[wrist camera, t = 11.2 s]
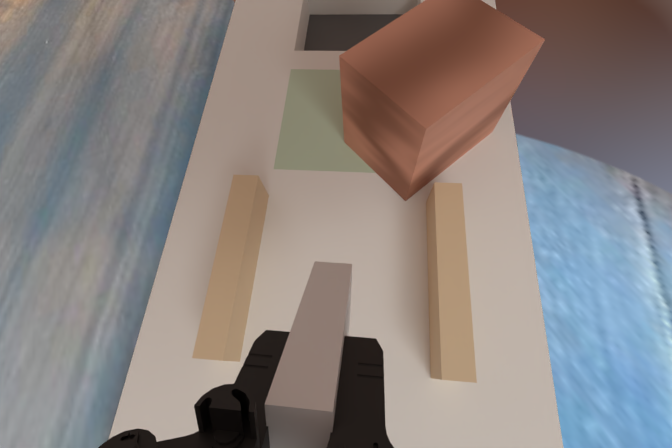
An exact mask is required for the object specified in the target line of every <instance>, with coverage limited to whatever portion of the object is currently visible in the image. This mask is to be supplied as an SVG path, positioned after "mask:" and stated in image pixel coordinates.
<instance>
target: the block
mask: <svg viewBox="0 0 672 448" xmlns="http://www.w3.org/2000/svg"><path fill="white" fill-rule="evenodd" d="M544 41H545V39H543V38H542V37H540V36H538V35H537V34H535V33H533V32H532V31H530V30H529V29H527V28H526V27H524V26H522V25H521V24H519V23H517V22H516V21H514V20H512V19H511V18H509V17H508V16H506V15H504V14H503V13H501V12H500V11H498V10H496V9H495V8H493V7H491V6H490V5H488V4H487V3H485V2H483V1H482V0H425V1H423V2H422V3H420V4H419V5H417V6H416V7H414V8H413V9H411V10H409V11H408V12H406V13H405V14H403V15H402V16H400V17H399V18H397V19H395V20H394V21H392V22H391V23H389V24H388V25H386V26H385V27H383V28H381V29H380V30H378V31H377V32H375V33H374V34H372V35H371V36H369V37H367V38H366V39H364V40H363V41H361V42H360V43H358V44H357V45H355V46H353V47H352V48H350V49H349V50H347V51H346V52H344V53H343V54H341V55H339V62H340V79H341V96H342V112H343V129H344V142H345V143H346V144H347V145H348V146H349V147H350V148H351V149H352V150H353V151H354V152H355V153H356V154H357V155H358V156H359V157H360V158H361V159H362V160H363V161H364V162H365V163H366V164H367V165H368V166H369V167H370V168H372V169H373V170H374V171H375V172H376V173H377V174H378V175H379V176H380V177H381V178H382V179H383V180H384V181H385V182H386V183H387V184H388V185H389V186H390V187H391V188H392V189H393V190H394V191H395V192H396V193H397V194H398V195H399V196H400V197H401V198H402V199H403V200H405V201H407V200H408V199H409V198H410V197H412V196H413V195H414V194H415V193H417V192H418V191H419V190H420V189H422V188H423V187H424V186H425V185H427V184H428V183H429V182H430V181H432V180H433V179H434V178H435V177H437V176H438V175H439V174H440V173H442V172H443V171H444V170H445V169H447V168H448V167H449V166H450V165H452V164H453V163H454V162H455V161H457V160H458V159H459V158H460V157H462V156H463V155H464V154H465V153H467V152H468V151H469V150H470V149H472V148H473V147H474V146H475V145H477V144H478V143H479V142H480V141H482V140H483V139H484V138H485V137H487V136H488V135H489V134H490V133H492V132H493V130H494V128H495V127H496V125H497V123H498V121H499V120H500V118H501V116H502V114H503V112H504V111H505V109H506V107H507V105H508V104H509V102H510V100H511V98H512V97H513V95H514V93H515V91H516V90H517V88H518V86H519V84H520V83H521V81H522V79H523V77H524V76H525V74H526V72H527V70H528V69H529V67H530V65H531V63H532V61H533V60H534V58H535V56H536V55H537V53H538V51H539V49H540V48H541V46H542V44H543V42H544Z"/></svg>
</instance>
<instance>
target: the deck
mask: <svg viewBox="0 0 672 448" xmlns="http://www.w3.org/2000/svg"><path fill="white" fill-rule="evenodd" d="M423 1H425V0H236V1H235V5H234V8H233V11H232V15H231V18H230V22H229V25H228V29H227V32H226V36H225V39H224V43H223V46H222V49H221V53H220V56H219V60H218V63H217V67H216V70H215V74H214V77H213V81H212V84H211V87H210V91H209V94H208V98H207V101H206V105H205V108H204V112H203V115H202V119H201V122H200V125H199V129H198V132H197V136H196V139H195V143H194V146H193V150H192V153H191V157H190V160H189V163H188V167H187V170H186V174H185V177H184V181H183V184H182V188H181V191H180V195H179V198H178V201H177V205H176V208H175V212H174V215H173V219H172V222H171V226H170V229H169V233H168V236H167V239H166V243H165V246H164V250H163V253H162V257H161V260H160V264H159V267H158V271H157V274H156V277H155V281H154V284H153V288H152V291H151V295H150V298H149V302H148V305H147V309H146V312H145V315H144V319H143V322H142V326H141V329H140V333H139V336H138V340H137V343H136V347H135V350H134V353H133V357H132V360H131V364H130V367H129V371H128V374H127V378H126V381H125V385H124V388H123V391H122V395H121V398H120V402H119V405H118V409H117V412H116V416H115V419H114V423H113V426H112V429H111V433H110V436H109V439H110V438H111V437H113V436H115V435H117V434H120V433H122V432H124V431H127V430H132V429H137V428H138V429H144V430H149V431H150V432H151V433H152V434H153V435H155V437H156V441H157V442H158V441H163V440H168V439H173V438H178V437H183V436H187V435H190V434H193V433H195V432H197V431H199V429H198V424H197V419H196V414H195V409H194V405H195V404H196V402H197V401H198V400H199V399H200V397H201V396H202V395H204V394H205V393H207V392H208V391H210V390H211V389H213V388H215V387H218V386H221V385H224V384H234V383H235V381H236V378H237V376H238V374H239V372H240V370H241V368H242V367H243V364H244V362H245V360H246V357H247V356H248V354H249V351H250V349H251V347H252V345H253V343H254V341H255V340H256V339H257V338H258V337H259V336H260V335H261V334H262V333H263V332H264V331H266V330H274V331H285V332H290V330H291V327H292V325H293V322H294V319H295V316H296V313H297V310H298V307H299V305H300V302H301V299H302V296H303V293H304V290H305V287H306V285H307V282H308V279H309V276H310V273H311V270H312V267H313V265H314V262H315V261H317V262H332V263H346V264H352V286H351V310H350V326H349V335H348V336H353V337H364V338H376V339H377V341H378V343H379V344H380V346H381V348H382V350H383V357H384V393H385V426H386V432H387V436H388V438H389V440H390V443H391V444H392V445H393V447H394V448H563V443H562V436H561V430H560V423H559V416H558V410H557V403H556V397H555V390H554V384H553V377H552V371H551V364H550V358H549V351H548V344H547V338H546V331H545V325H544V318H543V312H542V305H541V299H540V292H539V286H538V279H537V272H536V266H535V259H534V253H533V246H532V240H531V233H530V227H529V220H528V214H527V207H526V200H525V194H524V187H523V181H522V174H521V168H520V161H519V155H518V148H517V142H516V135H515V129H514V122H513V116H512V109H511V103H510V102H509V104H508V105H507V107H506V109H505V111H504V112H503V114H502V116H501V118H500V120H499V121H498V123H497V125H496V127H495V128H494V130H493V132H492V133H490V134H489V135H488V136H487V137H485V138H484V139H483V140H482V141H480V142H479V143H478V144H477V145H475V146H474V147H473V148H472V149H470V150H469V151H468V152H467V153H465V154H464V155H463V156H462V157H460V158H459V159H458V160H457V161H455V162H454V163H453V164H452V165H450V166H449V167H448V168H447V169H445V170H444V171H443V172H442V173H440V174H439V175H438V176H437V177H435V178H434V179H433V180H432V181H430V182H429V183H428V184H427V185H425V186H424V187H423V188H422V189H420V190H419V191H418V192H417V193H415V194H414V195H413V196H412V197H410V198H409V199H408V200H407V201H405V200H403V199H402V198H401V197H400V196H399V195H398V194H397V193H396V192H395V191H394V190H393V189H392V188H391V187H390V186H389V185H388V184H387V183H386V182H385V181H384V180H383V179H382V178H381V177H380V176H379V175H378V174H377V173H376V172H375V171H374V170H373V169H372V168H370V167H369V166H368V165H367V164H366V163H365V162H364V161H363V160H362V159H361V158H360V157H359V156H358V155H357V154H356V153H355V152H354V151H353V150H352V149H351V148H350V147H349V146H348V145H347V144H346V143H345V142H344V129H343V112H342V96H341V79H340V62H339V55H341V54H343V53H344V52H346V51H347V50H349V49H350V48H352V47H353V46H355V45H357V44H358V43H360V42H361V41H363V40H364V39H366V38H367V37H369V36H371V35H372V34H374V33H375V32H377V31H378V30H380V29H381V28H383V27H385V26H386V25H388V24H389V23H391V22H392V21H394V20H395V19H397V18H399V17H400V16H402V15H403V14H405V13H406V12H408V11H409V10H411V9H413V8H414V7H416V6H417V5H419V4H420V3H422V2H423ZM482 1H483V2H485V3H487V4H488V5H490V6H491V7H493V8H495V9H496V4H495V0H482Z"/></svg>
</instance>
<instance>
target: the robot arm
mask: <svg viewBox="0 0 672 448" xmlns="http://www.w3.org/2000/svg"><path fill="white" fill-rule="evenodd" d="M351 286H352V264H346V263H332V262H317V261H315V262H314V265H313V267H312V270H311V273H310V276H309V279H308V282H307V285H306V287H305V290H304V293H303V296H302V299H301V302H300V305H299V307H298V310H297V313H296V316H295V319H294V322H293V325H292V327H291V330H290V332H285V331H274V330H266V331H264V332H263V333H262V334H261V335H260V336H259V337H258V338H257V339H256V340H255V341H254V343H253V345H252V347H251V349H250V351H249V354H248V356H247V357H246V360H245V362H244V364H243V367H242V368H241V370H240V372H239V374H238V376H237V378H236V381H235V383H234V384H224V385H221V386H218V387H215V388H213V389H211V390H210V391H208V392H207V393H205V394H204V395H202V396H201V397H200V399H199V400H198V401H197V402H196V404H195V405H194V409H195V414H196V419H197V424H198V429H199V431H197V432H195V433H193V434H190V435H187V436H183V437H178V438H173V439H168V440H163V441H158V442H157V441H156V437H155V435H153V434H152V433H151V432H150V431H149V430H144V429H138V428H137V429H132V430H127V431H124V432H122V433H120V434H117V435H115V436H113V437H111V438H110V439H109V440H107V441H106V442H105V443H104V444H102V445H101V446H100V447H99V448H394V447H393V445H392V444H391V443H390V440H389V438H388V436H387V432H386V426H385V393H384V357H383V350H382V348H381V346H380V344H379V343H378V341H377V339H376V338H364V337H353V336H348V335H349V326H350V310H351Z"/></svg>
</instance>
